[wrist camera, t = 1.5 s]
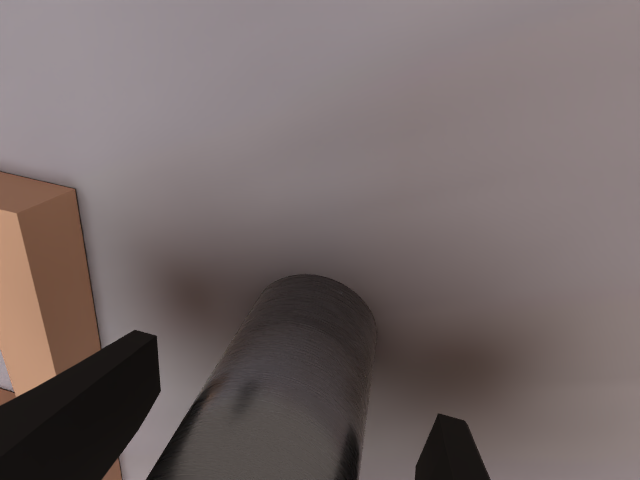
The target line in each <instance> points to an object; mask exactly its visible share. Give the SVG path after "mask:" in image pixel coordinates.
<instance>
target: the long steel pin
mask: <svg viewBox="0 0 640 480" xmlns="http://www.w3.org/2000/svg"><path fill="white" fill-rule="evenodd" d="M376 340H377V329H376V324H375V320H374V317H373V315H372V313H371V311H370V310H369V308H368V306H367V305H366V304H365V302H364V301H363V300H362V299H361V298H360V297H359V296H358V295H357V294H356V293H355V292H353V291H352V290H351V289H349V288H348V287H346V286H344V285H343V284H341V283H339V282H337V281H334V280H332V279H329V278H325V277H322V276H316V275H306V274H305V275H294V276H289V277H285V278H282V279H280V280H278V281H276V282H274V283H273V284H271V285H270V286H268V287H267V288H266V289H265V290H264V291H263V293H262V294H261V295H260V297H259V298H258V300H257V302H256V303H255V305H254V306H253V308H252V310H251V311H250V313H249V314H248V316H247V318H246V319H245V321H244V322H243V324H242V326H241V327H240V329H239V330H238V332H237V334H236V335H235V337H234V339H233V340H232V342H231V343H230V345H229V347H228V348H227V350H226V351H225V353H224V355H223V356H222V358H221V359H220V361H219V363H218V364H217V366H216V368H215V369H214V371H213V372H212V374H211V376H210V377H209V379H208V380H207V382H206V384H205V385H204V387H203V388H202V390H201V392H200V393H199V395H198V396H197V398H196V400H195V401H194V403H193V405H192V406H191V408H190V409H189V411H188V413H187V414H186V416H185V417H184V419H183V421H182V422H181V424H180V425H179V427H178V429H177V430H176V432H175V434H174V435H173V437H172V438H171V440H170V442H169V443H168V445H167V446H166V448H165V450H164V451H163V453H162V454H161V456H160V458H159V459H158V461H157V462H156V464H155V466H154V467H153V469H152V471H151V472H150V474H149V475H148V477H147V479H146V480H359V473H360V465H361V457H362V449H363V442H364V434H365V426H366V418H367V411H368V403H369V395H370V387H371V379H372V372H373V364H374V356H375V348H376Z"/></svg>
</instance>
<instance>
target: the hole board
mask: <svg viewBox="0 0 640 480" xmlns="http://www.w3.org/2000/svg"><path fill="white" fill-rule="evenodd" d="M0 349H1V352H2V355H3V358H4V361H5V364H6V368H7V371H8V374H9V377H10V380H11V383H12V386H13V389H14V392H15V393H13V392H10V391H6V390H3V389H0V405H2V404H4V403H6V402H8V401H10V400H12V399H14V398H16V397H17V396H19V395H21V394H23V393H25V392H27V391H29V390H31V389H33V388H35V387H37V386H38V385H40V384H42V383H44V382H46V381H47V380H49V379H51V378H53V377H54V376H56V375H58V374H60V373H61V372H63V371H65V370H67V369H69V368H70V367H72V366H74V365H76V364H77V363H79V362H81V361H82V360H84V359H86V358H88V357H89V356H91V355H93V354H94V353H96V352H98V351H100V350H101V348H100V341H99V335H98V329H97V323H96V317H95V311H94V304H93V298H92V292H91V286H90V280H89V273H88V267H87V261H86V255H85V249H84V242H83V236H82V230H81V224H80V218H79V212H78V205H77V199H76V193H75V189H72V188H68V187H64V186H59V185H55V184H51V183H46V182H42V181H38V180H33V179H29V178H25V177H21V176H16V175H12V174H8V173H3V172H0ZM102 480H122V477H121V471H120V465H119V459H117V460H116V461H115V463H114V464H113V465H112V467H111V468H110V469H109V471H108V472H107V473H106V475H105V476H104V477H103V479H102Z"/></svg>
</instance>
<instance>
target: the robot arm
mask: <svg viewBox="0 0 640 480" xmlns="http://www.w3.org/2000/svg"><path fill="white" fill-rule="evenodd" d="M160 391H161V388H160V375H159V361H158V348H157V336H155V335H152V334H148V333H144V332H141V331H137V330H134V331H132V332H131V333H129V334H127V335H125V336H124V337H122V338H120V339H118V340H117V341H115V342H113V343H112V344H110V345H108V346H106V347H105V348H103V349H101V350H100V351H98V352H96V353H94V354H93V355H91V356H89V357H88V358H86V359H84V360H82V361H81V362H79V363H77V364H76V365H74V366H72V367H70V368H69V369H67V370H65V371H63V372H61V373H60V374H58V375H56V376H54V377H53V378H51V379H49V380H47V381H46V382H44V383H42V384H40V385H38V386H37V387H35V388H33V389H31V390H29V391H27V392H25V393H23V394H21V395H19V396H17V397H16V398H14V399H12V400H10V401H8V402H6V403H4V404H2V405H0V480H102V479H103V477H104V476H105V475H106V473H107V472H108V471H109V469H110V468H111V467H112V465H113V464H114V463H115V461H116V460H117V459H118V457H119V456H120V454H121V453H122V452H123V450H124V449H125V448H126V446H127V445H128V443H129V442H130V441H131V439H132V438H133V437H134V435H135V434H136V432H137V431H138V430H139V428H140V426H141V425H142V423H143V421H144V420H145V418H146V416H147V415H148V413H149V411H150V409H151V408H152V406H153V404H154V402H155V400H156V399H157V397H158V395H159V393H160ZM415 480H491V479H490V477H489V475H488V472H487V470H486V468H485V466H484V463H483V461H482V459H481V456H480V454H479V451H478V449H477V447H476V444H475V442H474V439H473V437H472V434H471V432H470V429H469V427H468V425H467V423H466V422H465V421H464V420H460V419H457V418H453V417H449V416H446V415H442V414H439V413H438V416H437V418H436V420H435V423H434V425H433V427H432V430H431V432H430V434H429V437H428V439H427V441H426V444H425V446H424V448H423V451H422V453H421V455H420V458H419V460H418V462H417V465H416V471H415Z"/></svg>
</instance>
